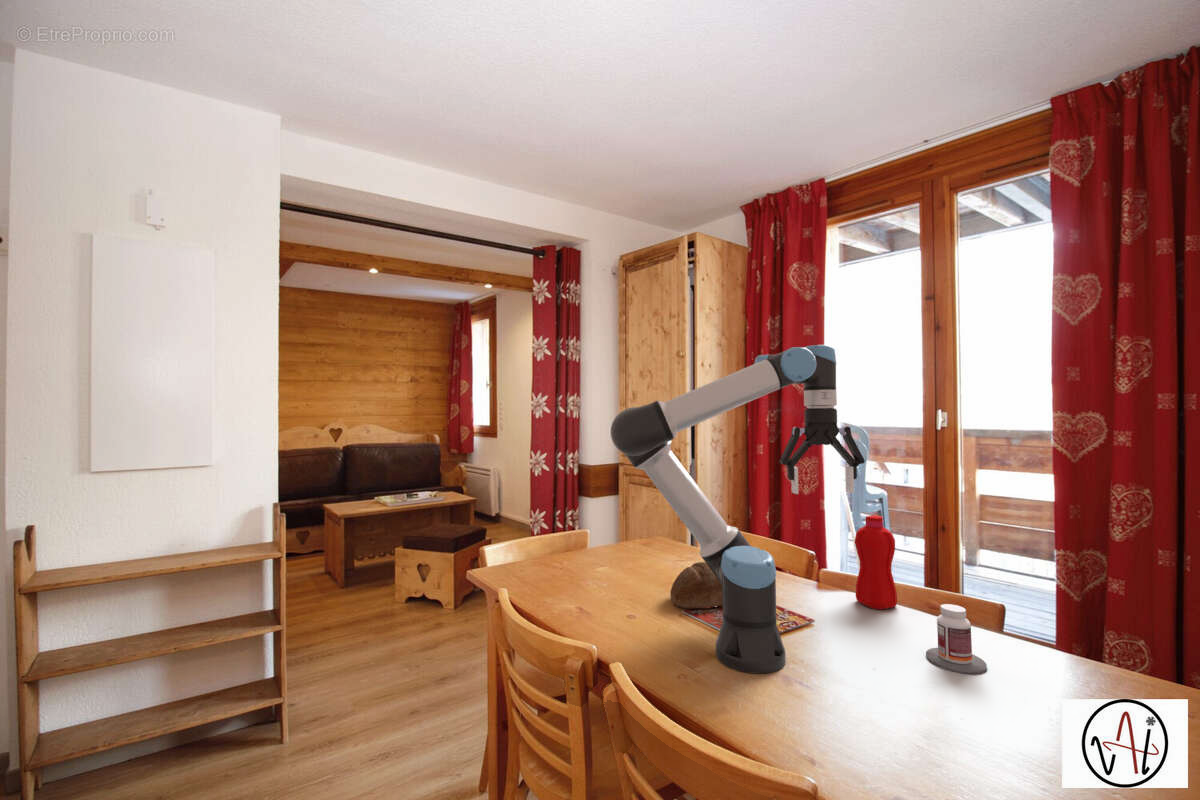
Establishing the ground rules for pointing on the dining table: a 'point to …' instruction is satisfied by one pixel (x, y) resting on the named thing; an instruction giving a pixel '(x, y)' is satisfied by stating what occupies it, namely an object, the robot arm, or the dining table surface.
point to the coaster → (971, 668)
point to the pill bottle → (954, 635)
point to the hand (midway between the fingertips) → (822, 493)
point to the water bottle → (875, 565)
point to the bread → (697, 588)
